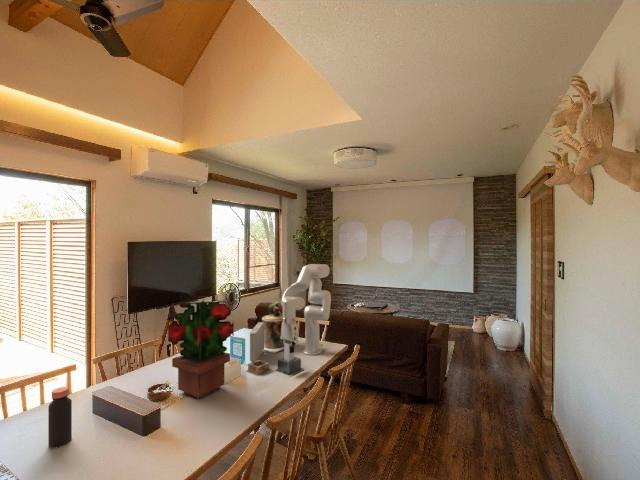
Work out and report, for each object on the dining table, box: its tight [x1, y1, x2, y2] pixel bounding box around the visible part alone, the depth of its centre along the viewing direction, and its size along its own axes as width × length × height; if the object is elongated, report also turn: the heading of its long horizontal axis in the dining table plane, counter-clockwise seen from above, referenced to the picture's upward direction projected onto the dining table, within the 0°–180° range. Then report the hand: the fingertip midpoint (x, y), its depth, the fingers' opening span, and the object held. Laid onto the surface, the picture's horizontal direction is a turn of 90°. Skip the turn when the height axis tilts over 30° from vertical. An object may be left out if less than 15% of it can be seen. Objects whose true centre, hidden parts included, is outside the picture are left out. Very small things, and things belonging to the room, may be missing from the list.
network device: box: [249, 321, 267, 362], centre depth 207 cm, size 26×9×20 cm, turn 179°
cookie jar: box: [261, 300, 299, 354], centre depth 230 cm, size 25×25×32 cm
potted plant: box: [167, 298, 235, 400], centre depth 161 cm, size 22×22×45 cm
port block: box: [274, 356, 305, 378], centre depth 185 cm, size 12×12×7 cm
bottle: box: [47, 386, 73, 449], centre depth 120 cm, size 7×7×20 cm
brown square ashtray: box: [245, 359, 272, 377], centre depth 184 cm, size 11×11×5 cm
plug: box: [283, 340, 295, 362], centre depth 185 cm, size 4×4×12 cm
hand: (289, 351), depth 185 cm, fingers closed on plug, 4 cm apart
